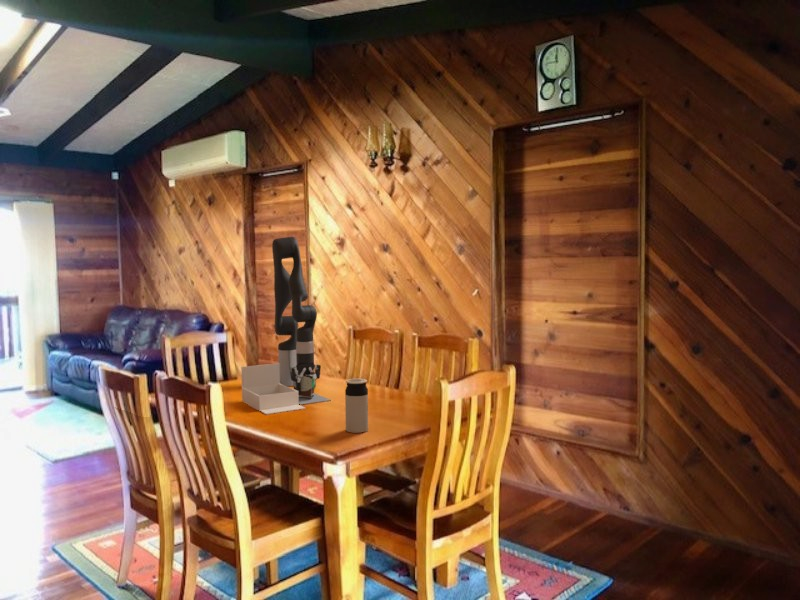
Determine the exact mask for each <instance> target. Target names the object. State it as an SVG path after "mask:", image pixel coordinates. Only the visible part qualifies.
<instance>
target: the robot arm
mask: <svg viewBox="0 0 800 600" xmlns="http://www.w3.org/2000/svg"><path fill="white" fill-rule="evenodd" d="M271 245H272V247H271V248H272V259H273V270H274V271H273V272H274V275H273V276H274V281H273V282H274V283H273V284H274V285H273V286H274V287H273V289H274V290H273V291H274V304H275V305H274V307H275V308H274V332H275V334H276V335H277V336H290V337H289V338H288V339H286V340H285V341H281V342H280V343H279V344H278V345H277V346H278V347H277V348H278V349H277V351H278V352H277V354H278V356H277V358H278V363H279V370H280V384H282V385H284V386H287V387H293V381H294V382H296V389H297V391H300V390H301V388H300V380H301V378H302V377H303V375H310V374H311V375H313V374H314V373H313V372H315V374H316V377H317V378H316V379H315V387H314V390H315V388H316V386H317V385H316V383H317V382H316V380H319V379H320V378H321V377H320V376H321V369H322V367H321V364H318V363H316V364H315V349H314V348H315V347H314V346H315V344H314V329H315V325H316V322H317V315H318V312H317V308H315V306H314V305H311V304H310V305H307V304H306V305H302V303H303V302H305V301H307V300H308V298H309V295H308V290H307V287H306V283H305V280H304V274H303V265H302V258H301V254H300V253H301V252H300V247H299V243H298V240H297V238H296V237H294V236H286V237H278V238H275V239H273V240H272V244H271ZM285 259H292V260H293V265H292V269H291V273H289V272H288V271H287V270H286V268H285V266H284V265H283V260H285ZM290 304H291V315H283V314H284V312H285V309H286V308H287V307H288V306H289V305H290ZM299 323H304V325H303V326H301V327H299ZM298 327H299V328H298ZM297 371H298V373H297V377H296V376H295V372H297Z"/></svg>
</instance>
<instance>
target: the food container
mask: <svg viewBox="0 0 800 600" xmlns="http://www.w3.org/2000/svg"><path fill="white" fill-rule="evenodd" d="M297 373H298V371H297V372H295V376H296V377H297ZM313 373H314V374H313V375H311V374H310V375H303V377H302V378H301V380H300V388H301V390H300V391H298V394H299V396H303V397H310V398H311V397H313V396H314V393H315V389H314V387H315V382H316V381H315V379H316V378H317V377H316V374H315V371H313ZM316 380H317V379H316ZM292 388H293V389H294V390H297V389H296V382H294V381H293V386H292ZM315 388H316V387H315Z"/></svg>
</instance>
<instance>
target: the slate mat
mask: <svg viewBox="0 0 800 600" xmlns="http://www.w3.org/2000/svg"><path fill="white" fill-rule="evenodd" d="M324 401H326V402H331V401H332V399H329V398H327V397H324V396H322V395H320V394H317V393H315V392H314V396H313V397H311V398H310V397H303V396H299V404H300V405H301V406H304V405H303V404H306V405H311V404H310V403H313V404H317V403H316V402H319V403H325V402H324Z"/></svg>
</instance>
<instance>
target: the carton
mask: <svg viewBox="0 0 800 600" xmlns="http://www.w3.org/2000/svg"><path fill="white" fill-rule="evenodd" d="M240 372H241V400H242V401H243V402H244V404H245V403H246V404H245V405H247V404H248V406H249V405H250V406H249V407H251V408H253V409H254V410H257V411H258V410H259V412H260V411H261V412H260V413H263V414H264V415H266V416H267V415H273V414H274V413H275V414H281V413H287V411H288V412H295V411H300V410H299V409H301V410H306V409H307V407H305V406H304V405H299V394H298V391H297V390H294V388H293V387H292V388H291V387H290V386H284V385H282V384H280V370H279V362H278V363H277V362H276V363H275V362H274V363H268V364H257V365H248V366H241V371H240ZM242 401H241V402H242ZM243 402H242V403H243ZM294 410H295V411H294ZM280 412H281V413H280Z"/></svg>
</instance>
